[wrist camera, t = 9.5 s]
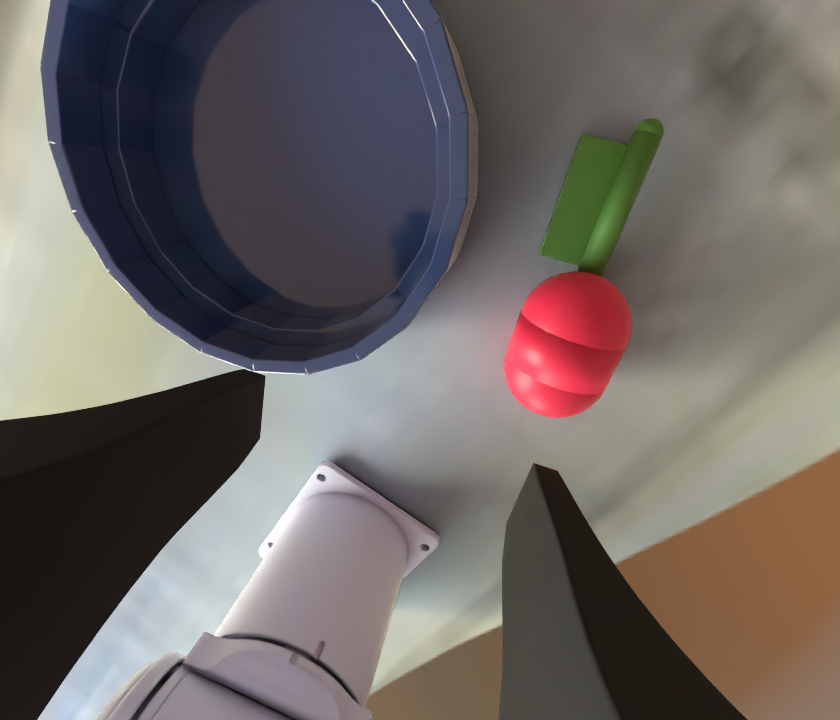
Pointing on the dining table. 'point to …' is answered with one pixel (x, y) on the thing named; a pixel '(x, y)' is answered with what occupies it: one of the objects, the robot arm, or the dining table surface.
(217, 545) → the dining table surface
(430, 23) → the bowl
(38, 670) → the robot arm
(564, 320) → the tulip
